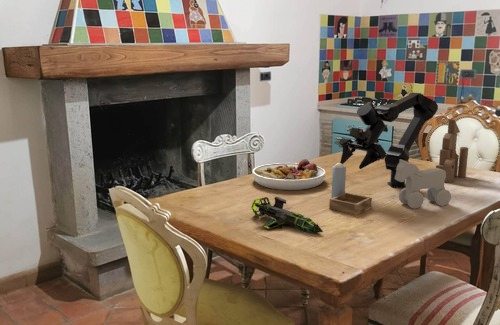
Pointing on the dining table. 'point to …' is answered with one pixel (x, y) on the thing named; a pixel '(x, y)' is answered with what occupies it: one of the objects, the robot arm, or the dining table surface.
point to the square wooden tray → (350, 203)
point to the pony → (421, 185)
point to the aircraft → (283, 216)
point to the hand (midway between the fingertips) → (350, 166)
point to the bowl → (289, 175)
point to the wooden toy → (452, 154)
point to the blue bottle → (338, 179)
